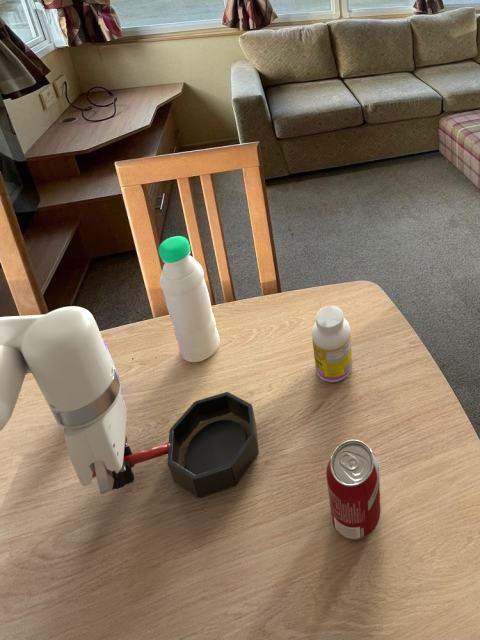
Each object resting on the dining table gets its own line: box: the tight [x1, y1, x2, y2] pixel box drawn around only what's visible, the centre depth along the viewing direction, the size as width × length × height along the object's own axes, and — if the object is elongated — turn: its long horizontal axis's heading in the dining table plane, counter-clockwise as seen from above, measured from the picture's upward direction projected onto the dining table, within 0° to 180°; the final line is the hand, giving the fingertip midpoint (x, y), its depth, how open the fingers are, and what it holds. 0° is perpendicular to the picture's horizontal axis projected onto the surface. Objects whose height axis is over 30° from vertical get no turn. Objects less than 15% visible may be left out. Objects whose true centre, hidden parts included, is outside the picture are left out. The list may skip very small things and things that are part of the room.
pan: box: [92, 391, 260, 499], centre depth 72 cm, size 23×12×5 cm, turn 109°
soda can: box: [325, 439, 382, 541], centre depth 64 cm, size 7×7×12 cm
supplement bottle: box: [311, 305, 353, 383], centre depth 84 cm, size 7×7×13 cm
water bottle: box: [158, 235, 220, 363], centre depth 86 cm, size 7×7×25 cm
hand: (123, 475), depth 70 cm, fingers closed on pan, 1 cm apart
